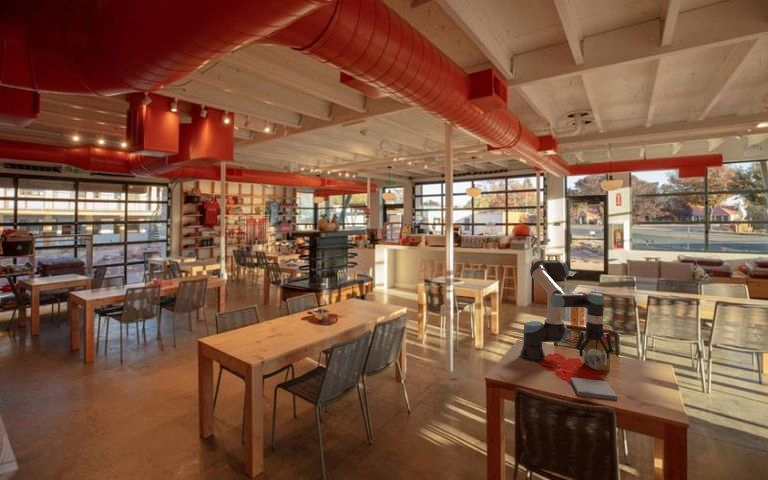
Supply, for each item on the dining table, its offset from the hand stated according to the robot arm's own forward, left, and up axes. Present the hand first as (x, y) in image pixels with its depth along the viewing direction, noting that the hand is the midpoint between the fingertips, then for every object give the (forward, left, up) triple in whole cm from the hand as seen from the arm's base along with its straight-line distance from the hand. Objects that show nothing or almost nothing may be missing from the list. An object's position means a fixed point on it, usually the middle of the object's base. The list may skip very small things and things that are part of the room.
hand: (593, 363), depth 199 cm
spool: (0, 0, -1) cm, 1 cm away
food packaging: (+11, +36, -15) cm, 41 cm away
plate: (0, 0, -15) cm, 15 cm away
